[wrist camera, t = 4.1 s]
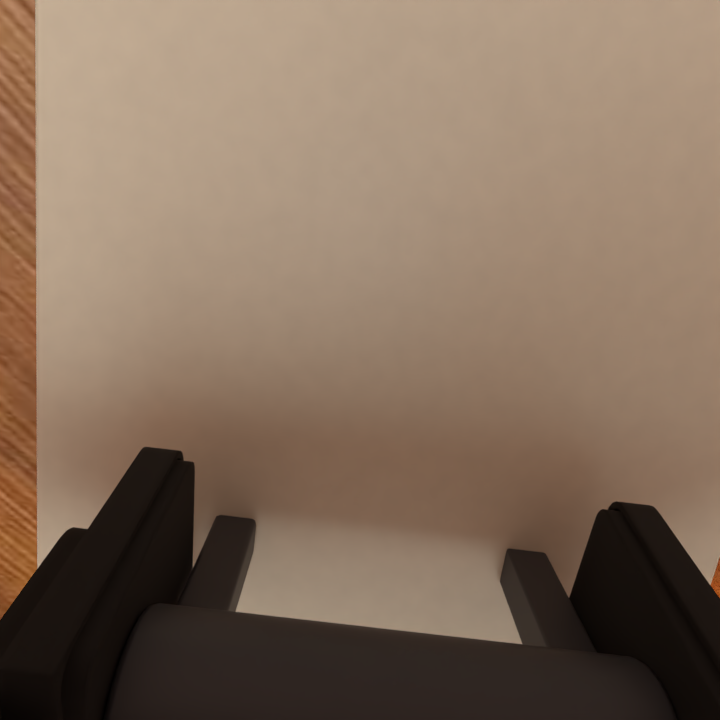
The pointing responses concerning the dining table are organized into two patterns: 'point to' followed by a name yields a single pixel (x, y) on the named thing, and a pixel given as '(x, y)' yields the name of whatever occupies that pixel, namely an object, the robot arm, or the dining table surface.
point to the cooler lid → (381, 334)
